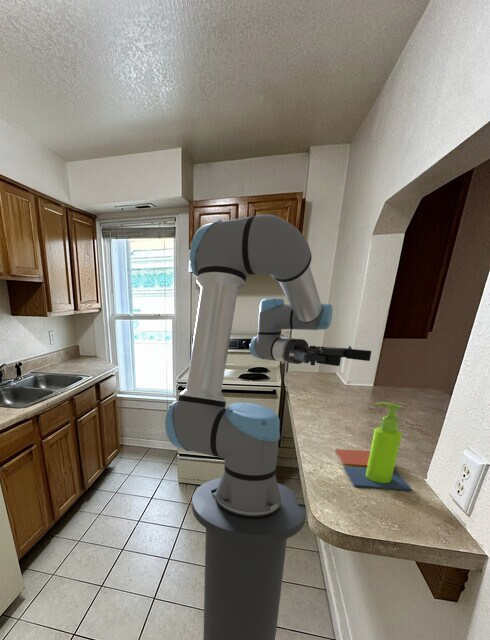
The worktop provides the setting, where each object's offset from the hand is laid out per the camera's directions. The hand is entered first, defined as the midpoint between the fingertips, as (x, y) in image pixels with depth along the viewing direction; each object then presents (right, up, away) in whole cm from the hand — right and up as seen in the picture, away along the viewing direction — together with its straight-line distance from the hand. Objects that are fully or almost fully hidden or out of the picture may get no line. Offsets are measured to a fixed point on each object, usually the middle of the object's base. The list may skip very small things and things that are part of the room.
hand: (355, 358), depth 94 cm
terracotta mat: (+8, -28, +11) cm, 31 cm away
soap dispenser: (+5, -32, -1) cm, 32 cm away
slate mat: (+5, -32, -1) cm, 33 cm away
